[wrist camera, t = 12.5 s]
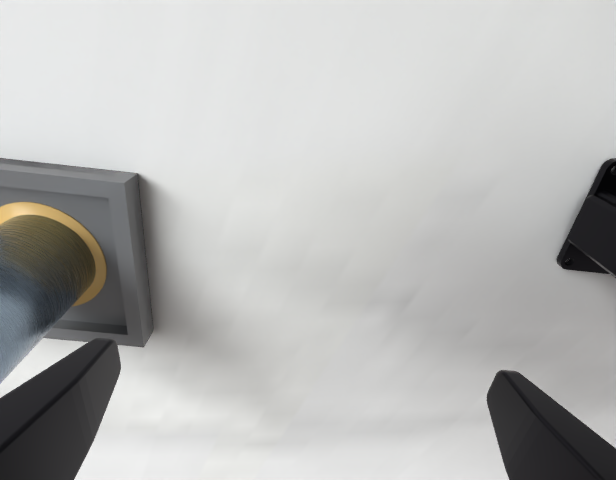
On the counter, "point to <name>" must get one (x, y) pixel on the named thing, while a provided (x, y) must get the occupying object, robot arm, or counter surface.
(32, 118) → the counter surface
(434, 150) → the counter surface
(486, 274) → the counter surface
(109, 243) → the tray
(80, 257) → the spout can
